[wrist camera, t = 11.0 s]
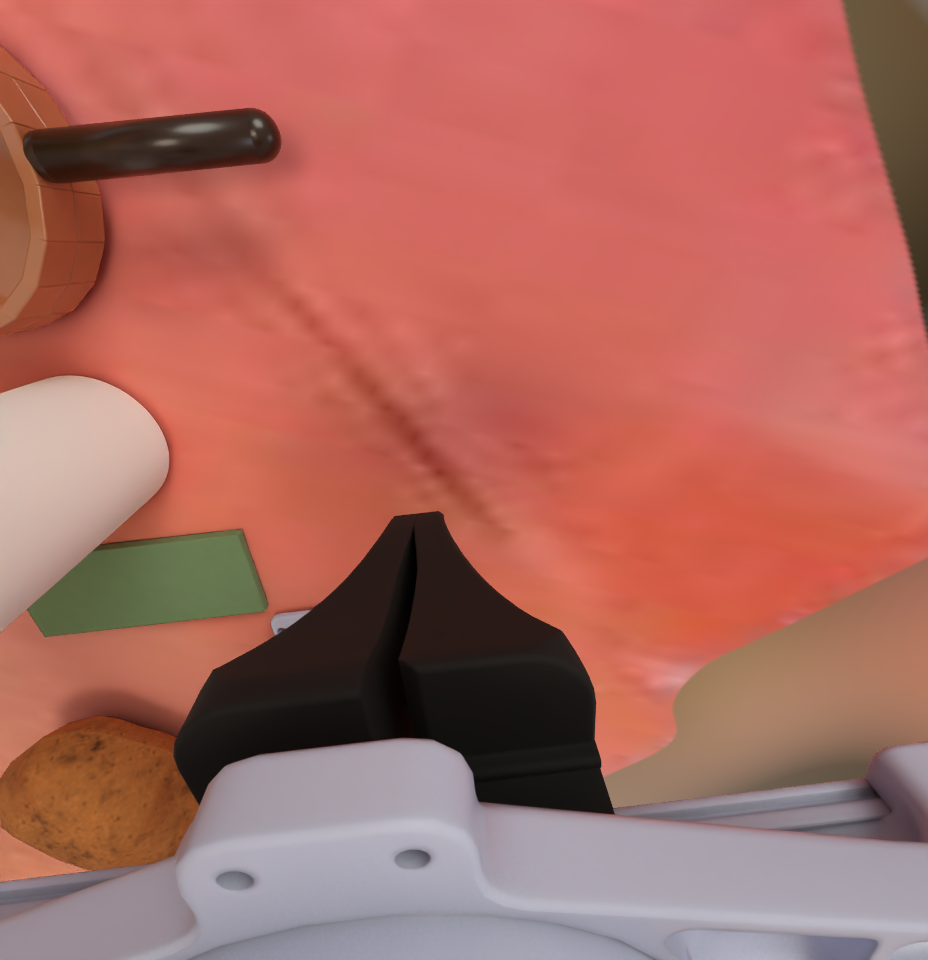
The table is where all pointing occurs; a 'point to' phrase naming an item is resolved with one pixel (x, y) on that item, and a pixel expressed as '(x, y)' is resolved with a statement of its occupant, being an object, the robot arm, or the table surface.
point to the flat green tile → (153, 585)
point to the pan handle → (152, 145)
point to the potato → (98, 795)
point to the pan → (40, 215)
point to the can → (68, 478)
